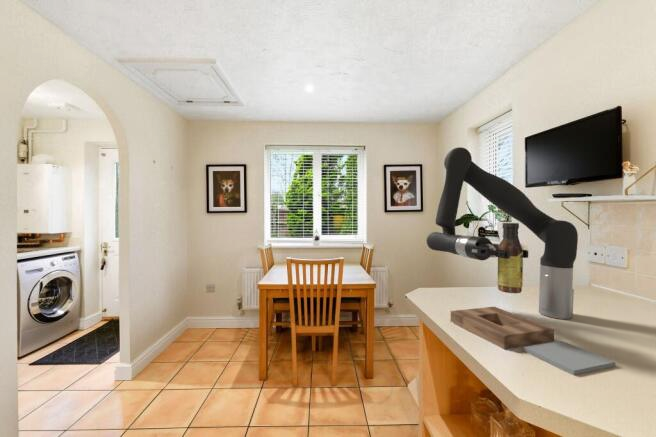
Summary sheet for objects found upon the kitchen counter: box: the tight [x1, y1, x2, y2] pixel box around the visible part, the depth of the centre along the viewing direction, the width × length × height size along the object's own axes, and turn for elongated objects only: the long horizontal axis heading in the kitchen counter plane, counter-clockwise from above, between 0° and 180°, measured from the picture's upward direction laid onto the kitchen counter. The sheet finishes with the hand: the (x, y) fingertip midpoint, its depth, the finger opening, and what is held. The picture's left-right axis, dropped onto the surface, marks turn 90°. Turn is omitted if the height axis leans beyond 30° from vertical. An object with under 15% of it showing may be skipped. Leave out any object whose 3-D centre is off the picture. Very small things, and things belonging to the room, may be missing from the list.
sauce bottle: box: [497, 222, 524, 294], centre depth 87 cm, size 7×6×20 cm
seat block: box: [449, 306, 555, 350], centre depth 90 cm, size 18×20×4 cm
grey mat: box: [522, 340, 617, 376], centre depth 74 cm, size 14×12×1 cm
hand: (518, 254), depth 85 cm, fingers closed on sauce bottle, 6 cm apart
